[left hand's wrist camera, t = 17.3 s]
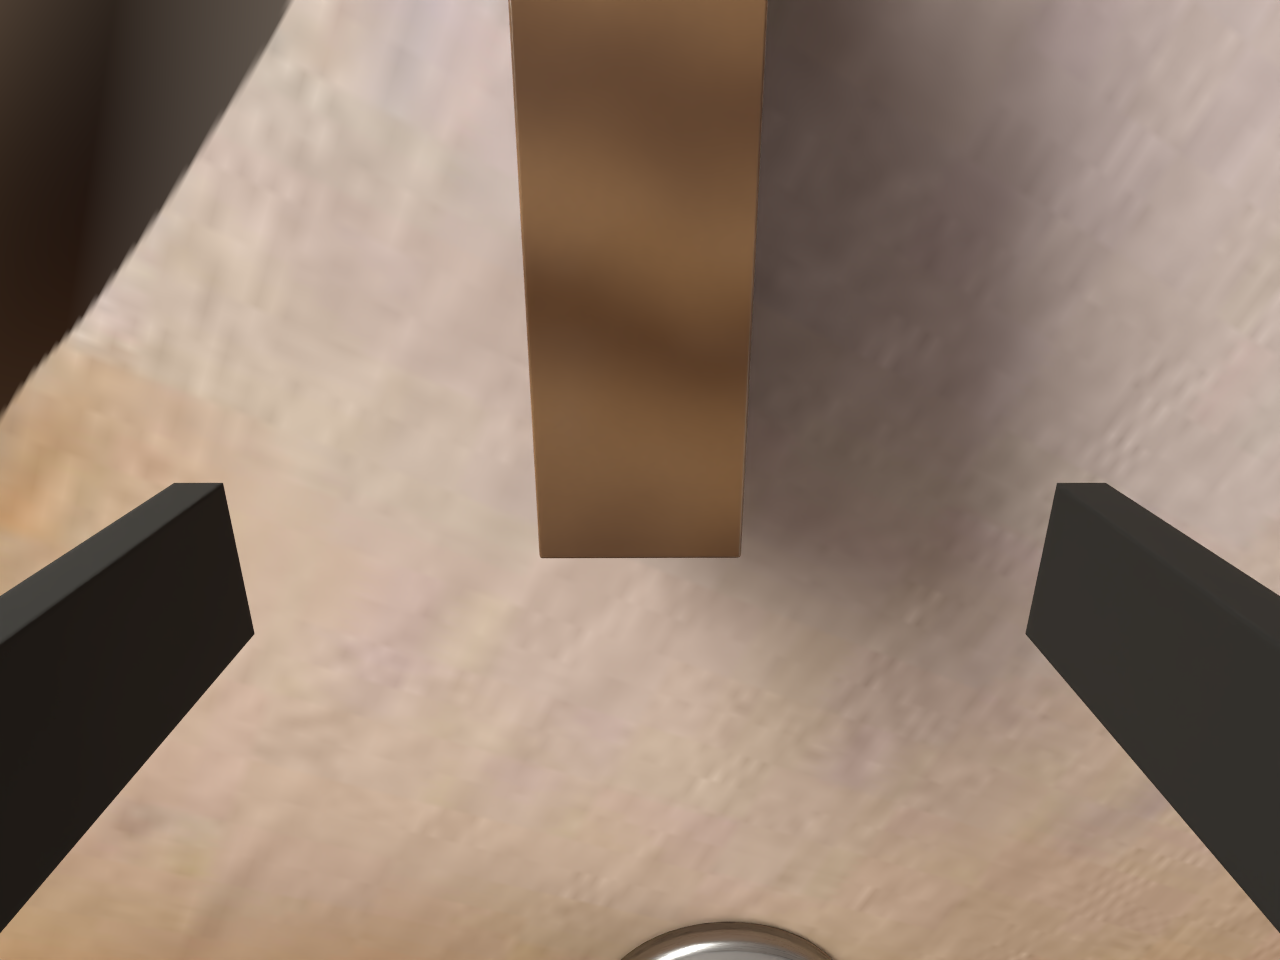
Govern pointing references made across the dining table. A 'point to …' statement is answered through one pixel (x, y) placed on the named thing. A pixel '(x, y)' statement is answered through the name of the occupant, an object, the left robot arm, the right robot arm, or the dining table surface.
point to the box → (639, 267)
